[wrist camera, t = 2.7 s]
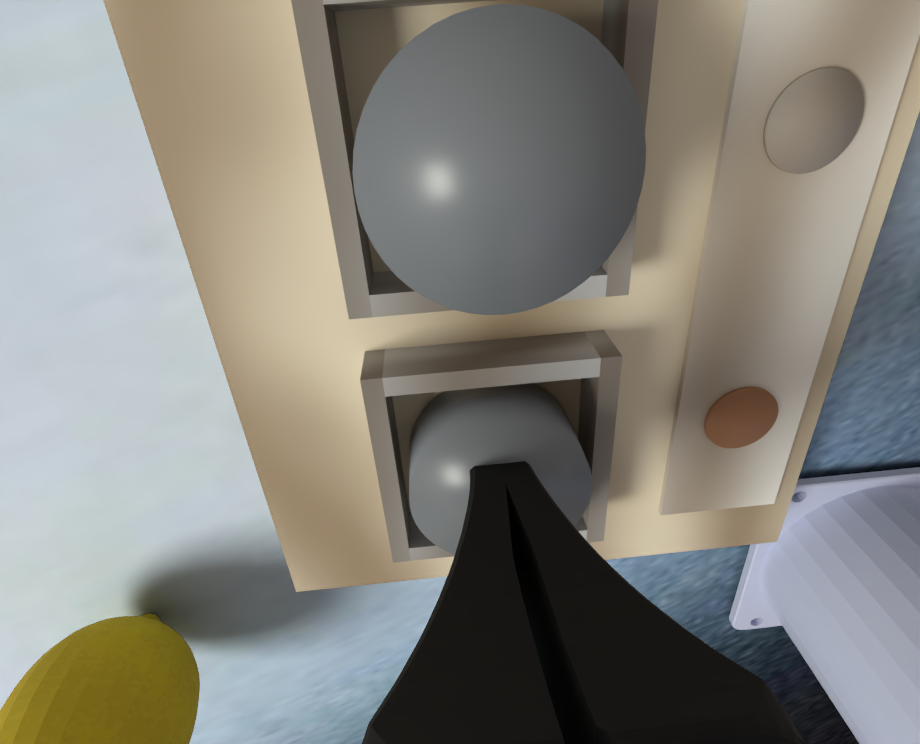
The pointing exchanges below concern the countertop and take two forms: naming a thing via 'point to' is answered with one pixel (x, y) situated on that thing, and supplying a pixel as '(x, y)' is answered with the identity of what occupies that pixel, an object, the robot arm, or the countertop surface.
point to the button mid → (499, 159)
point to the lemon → (107, 688)
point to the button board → (559, 322)
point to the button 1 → (491, 453)
